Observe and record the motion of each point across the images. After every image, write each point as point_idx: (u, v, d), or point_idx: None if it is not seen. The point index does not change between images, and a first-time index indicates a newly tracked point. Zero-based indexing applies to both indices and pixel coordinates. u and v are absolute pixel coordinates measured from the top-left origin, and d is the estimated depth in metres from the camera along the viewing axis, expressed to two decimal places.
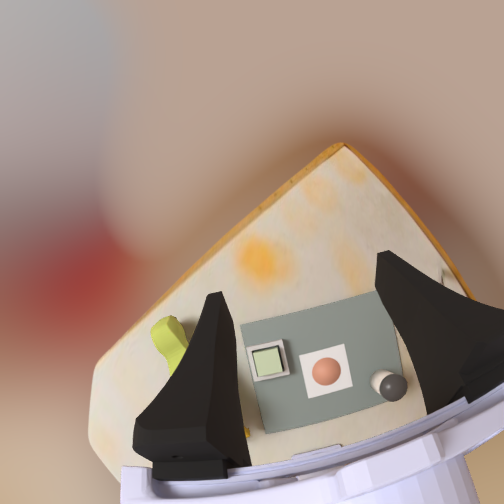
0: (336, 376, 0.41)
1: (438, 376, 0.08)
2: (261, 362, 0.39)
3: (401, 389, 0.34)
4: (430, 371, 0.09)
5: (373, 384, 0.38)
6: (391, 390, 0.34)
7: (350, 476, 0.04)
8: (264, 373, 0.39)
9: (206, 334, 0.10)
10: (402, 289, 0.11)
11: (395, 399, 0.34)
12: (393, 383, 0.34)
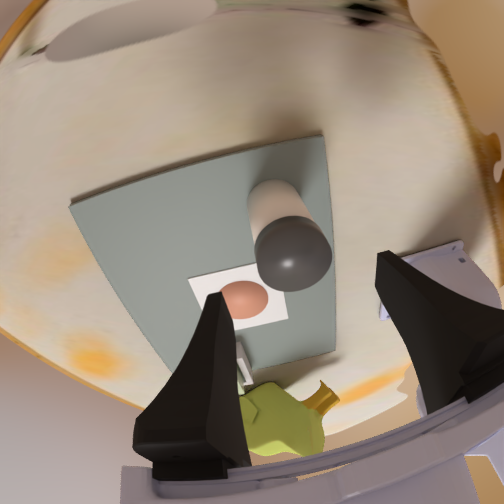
0: (253, 287, 0.24)
1: (439, 376, 0.08)
2: None
3: (303, 246, 0.14)
4: (430, 371, 0.09)
5: None
6: (298, 272, 0.15)
7: (350, 476, 0.04)
8: (239, 390, 0.27)
9: (206, 334, 0.10)
10: (402, 289, 0.11)
11: (327, 258, 0.15)
12: (279, 269, 0.15)
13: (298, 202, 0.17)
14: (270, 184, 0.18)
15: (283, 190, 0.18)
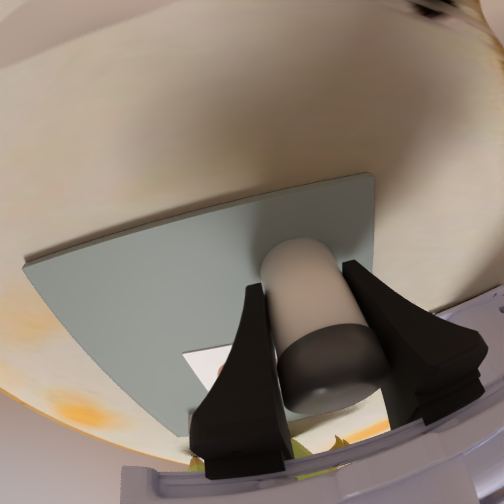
0: None
1: (398, 393, 0.08)
2: None
3: (354, 374, 0.08)
4: (391, 387, 0.09)
5: None
6: (340, 396, 0.09)
7: (350, 476, 0.04)
8: None
9: (253, 324, 0.10)
10: (364, 301, 0.11)
11: (382, 378, 0.09)
12: (315, 398, 0.09)
13: (341, 285, 0.11)
14: (296, 248, 0.13)
15: (317, 261, 0.12)
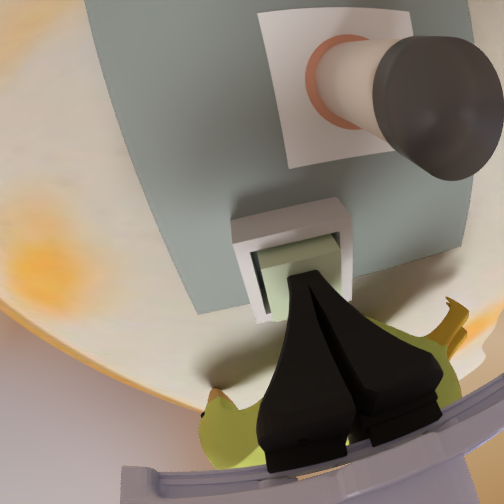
0: None
1: None
2: None
3: (474, 78, 0.05)
4: None
5: None
6: (463, 133, 0.06)
7: (350, 476, 0.04)
8: None
9: (304, 312, 0.10)
10: (320, 313, 0.11)
11: (498, 120, 0.05)
12: (438, 117, 0.05)
13: None
14: None
15: None
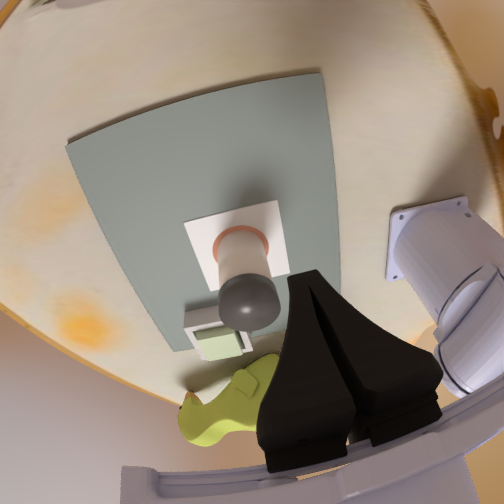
0: None
1: None
2: (220, 353, 0.27)
3: (255, 300, 0.18)
4: None
5: None
6: (253, 317, 0.18)
7: (350, 476, 0.04)
8: (237, 350, 0.27)
9: (304, 312, 0.10)
10: (320, 313, 0.11)
11: (276, 308, 0.18)
12: (237, 316, 0.18)
13: (257, 256, 0.20)
14: (236, 236, 0.22)
15: (245, 243, 0.21)
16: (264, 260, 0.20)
